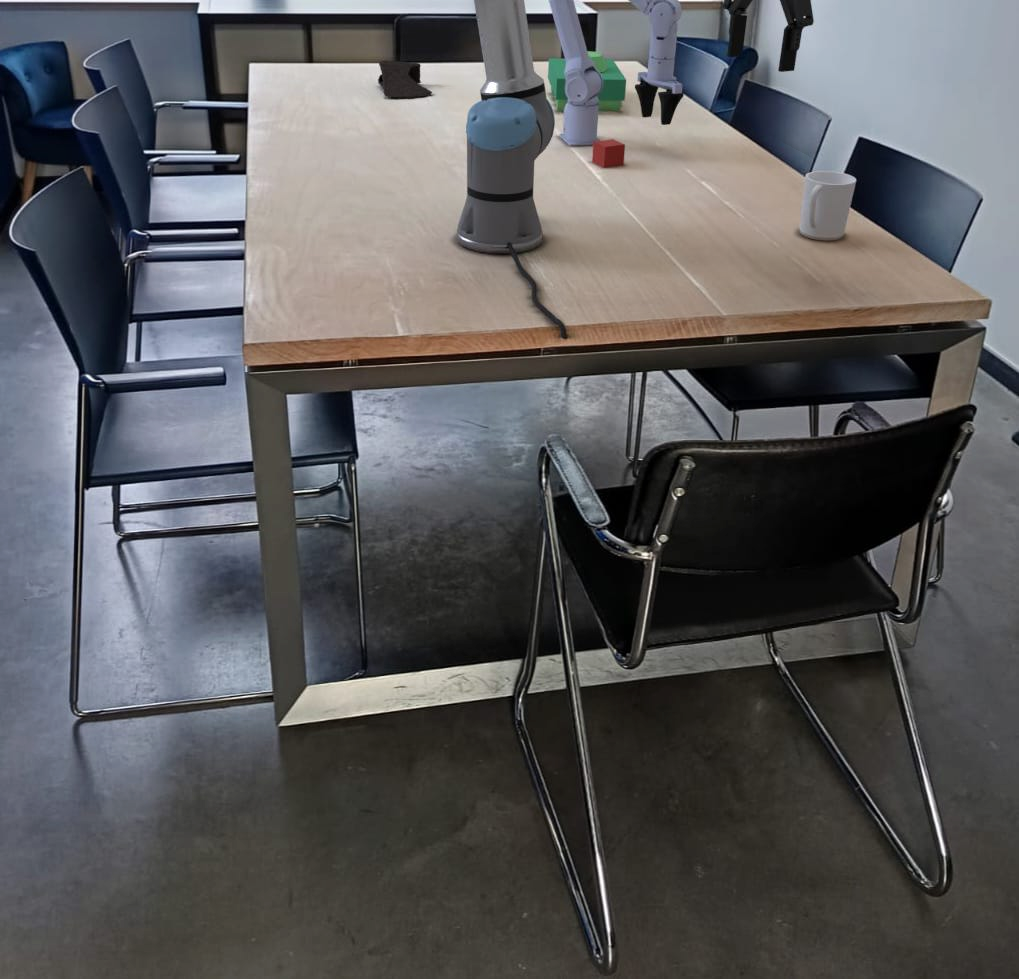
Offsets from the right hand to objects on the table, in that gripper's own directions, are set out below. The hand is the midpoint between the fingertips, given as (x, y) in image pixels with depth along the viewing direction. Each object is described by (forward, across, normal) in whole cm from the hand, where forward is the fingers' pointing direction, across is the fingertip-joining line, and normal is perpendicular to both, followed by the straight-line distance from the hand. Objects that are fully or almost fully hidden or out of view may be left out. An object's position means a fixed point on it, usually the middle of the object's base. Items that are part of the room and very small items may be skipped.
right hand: (656, 120), depth 248 cm
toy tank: (+7, +52, -13) cm, 54 cm away
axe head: (+7, +80, +27) cm, 85 cm away
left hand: (-24, -58, +22) cm, 66 cm away
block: (+7, -5, +16) cm, 18 cm away
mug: (+7, -63, +7) cm, 64 cm away
